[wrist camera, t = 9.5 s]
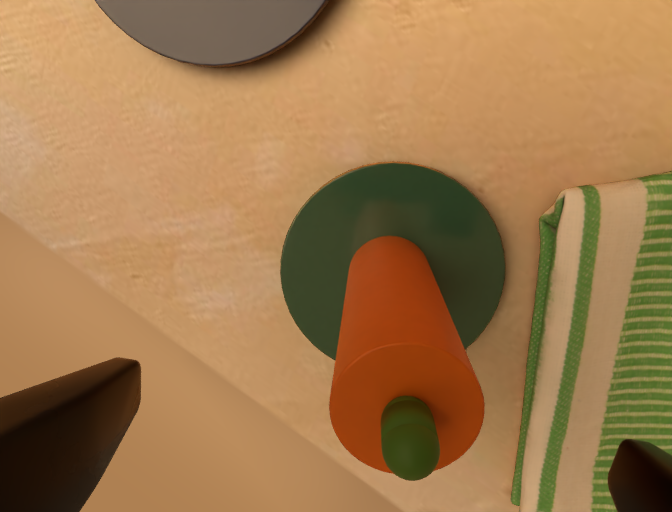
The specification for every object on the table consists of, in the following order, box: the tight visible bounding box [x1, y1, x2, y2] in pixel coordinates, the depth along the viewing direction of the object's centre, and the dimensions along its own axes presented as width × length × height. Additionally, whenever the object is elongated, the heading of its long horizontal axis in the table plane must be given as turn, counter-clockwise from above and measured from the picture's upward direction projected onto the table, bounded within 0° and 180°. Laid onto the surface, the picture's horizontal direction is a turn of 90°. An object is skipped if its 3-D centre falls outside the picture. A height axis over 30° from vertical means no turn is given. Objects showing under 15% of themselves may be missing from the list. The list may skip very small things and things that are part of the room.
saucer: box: [280, 161, 505, 361], centre depth 20 cm, size 10×10×1 cm
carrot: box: [329, 236, 485, 481], centre depth 14 cm, size 4×4×12 cm
